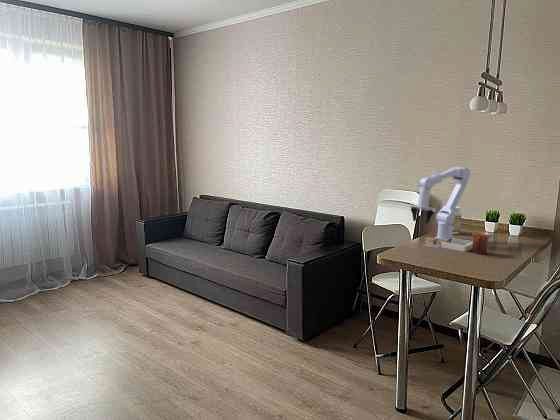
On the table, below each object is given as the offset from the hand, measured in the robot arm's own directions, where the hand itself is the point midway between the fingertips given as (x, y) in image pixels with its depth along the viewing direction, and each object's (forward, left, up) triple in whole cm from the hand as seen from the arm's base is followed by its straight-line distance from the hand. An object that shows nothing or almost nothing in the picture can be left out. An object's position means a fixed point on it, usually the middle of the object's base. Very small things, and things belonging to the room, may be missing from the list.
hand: (420, 221), depth 249 cm
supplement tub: (-37, +4, -11) cm, 39 cm away
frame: (0, +22, -11) cm, 25 cm away
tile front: (0, +14, -11) cm, 18 cm away
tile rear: (0, +7, -11) cm, 13 cm away
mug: (+6, +35, -11) cm, 37 cm away
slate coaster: (+8, +11, -12) cm, 18 cm away
